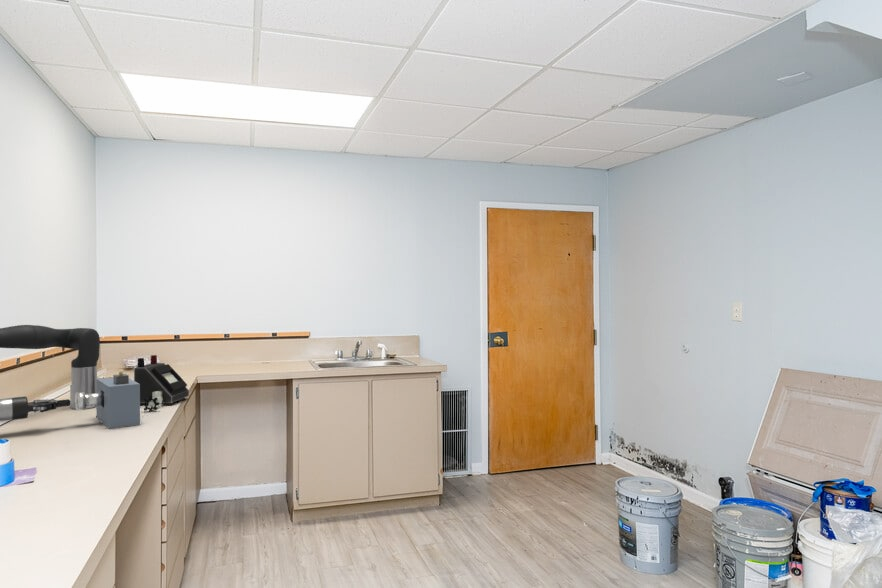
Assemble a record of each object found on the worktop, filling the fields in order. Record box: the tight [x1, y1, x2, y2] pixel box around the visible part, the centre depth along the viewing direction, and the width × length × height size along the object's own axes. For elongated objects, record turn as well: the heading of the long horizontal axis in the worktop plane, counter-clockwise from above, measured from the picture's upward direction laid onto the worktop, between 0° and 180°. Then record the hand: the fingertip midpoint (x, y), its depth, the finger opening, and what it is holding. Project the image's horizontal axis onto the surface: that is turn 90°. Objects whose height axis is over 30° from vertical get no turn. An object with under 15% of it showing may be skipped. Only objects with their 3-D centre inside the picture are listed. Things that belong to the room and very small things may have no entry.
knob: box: [75, 392, 104, 411], centre depth 214 cm, size 6×9×6 cm
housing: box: [95, 377, 141, 430], centre depth 220 cm, size 24×10×15 cm, turn 40°
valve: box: [141, 391, 163, 413], centre depth 241 cm, size 7×7×12 cm
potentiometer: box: [113, 369, 130, 385], centre depth 215 cm, size 5×4×5 cm
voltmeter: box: [133, 354, 190, 406], centre depth 256 cm, size 16×16×20 cm
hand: (69, 402), depth 210 cm, fingers closed
